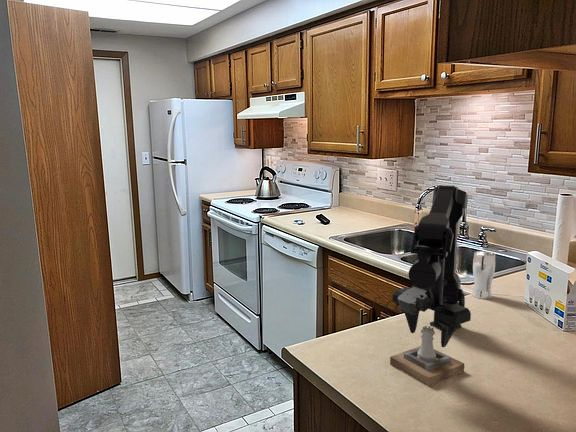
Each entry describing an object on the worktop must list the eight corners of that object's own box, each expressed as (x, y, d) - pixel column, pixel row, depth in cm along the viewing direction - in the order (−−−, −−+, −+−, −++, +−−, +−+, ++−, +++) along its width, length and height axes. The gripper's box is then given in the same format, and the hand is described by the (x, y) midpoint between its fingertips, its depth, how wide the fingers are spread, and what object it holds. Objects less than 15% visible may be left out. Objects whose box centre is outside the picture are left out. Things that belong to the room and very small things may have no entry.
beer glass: (483, 291, 166) (485, 250, 163) (497, 298, 159) (500, 255, 157) (466, 293, 164) (469, 251, 161) (480, 300, 157) (483, 256, 155)
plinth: (424, 351, 121) (424, 340, 120) (463, 371, 111) (464, 358, 110) (390, 364, 114) (390, 352, 114) (428, 386, 104) (429, 372, 104)
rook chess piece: (421, 353, 115) (423, 322, 114) (439, 359, 112) (441, 327, 111) (413, 360, 112) (414, 328, 110) (431, 366, 109) (433, 333, 108)
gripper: (376, 271, 112) (374, 333, 115) (439, 293, 96) (436, 364, 99) (409, 264, 118) (407, 323, 120) (474, 284, 102) (470, 351, 105)
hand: (427, 339), depth 111 cm, fingers open, 9 cm apart
